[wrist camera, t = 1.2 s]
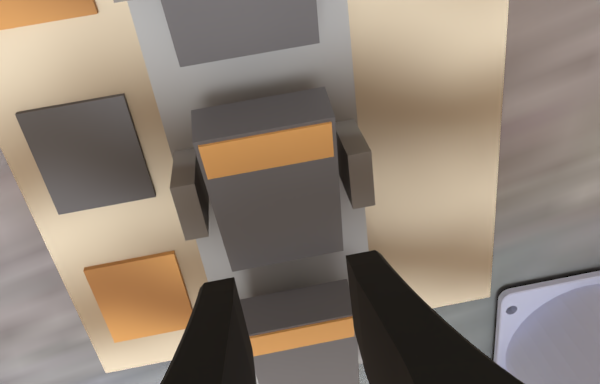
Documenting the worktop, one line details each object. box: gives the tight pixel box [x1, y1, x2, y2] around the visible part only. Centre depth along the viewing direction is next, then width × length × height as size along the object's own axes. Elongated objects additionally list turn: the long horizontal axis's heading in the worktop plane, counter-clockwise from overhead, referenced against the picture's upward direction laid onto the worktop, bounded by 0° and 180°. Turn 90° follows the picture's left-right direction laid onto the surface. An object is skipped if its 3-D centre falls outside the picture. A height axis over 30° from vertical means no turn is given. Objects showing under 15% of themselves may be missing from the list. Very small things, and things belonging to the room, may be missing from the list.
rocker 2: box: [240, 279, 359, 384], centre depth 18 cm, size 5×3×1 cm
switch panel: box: [0, 0, 509, 384], centre depth 17 cm, size 19×16×6 cm
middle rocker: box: [191, 87, 344, 272], centre depth 14 cm, size 5×3×1 cm
